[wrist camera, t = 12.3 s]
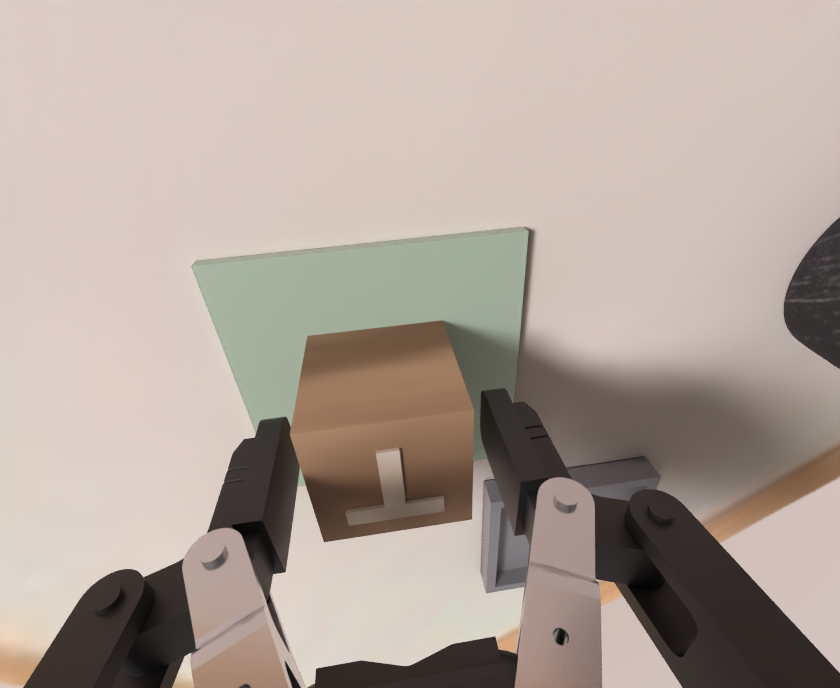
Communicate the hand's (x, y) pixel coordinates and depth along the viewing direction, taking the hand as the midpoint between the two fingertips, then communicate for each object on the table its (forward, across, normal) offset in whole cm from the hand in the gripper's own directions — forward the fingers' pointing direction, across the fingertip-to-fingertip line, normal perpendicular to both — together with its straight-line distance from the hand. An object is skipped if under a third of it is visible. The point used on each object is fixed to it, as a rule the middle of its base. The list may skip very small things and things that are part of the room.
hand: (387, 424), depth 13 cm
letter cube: (+2, 0, 0) cm, 2 cm away
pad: (+3, 0, 0) cm, 3 cm away
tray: (+3, -8, +11) cm, 14 cm away
